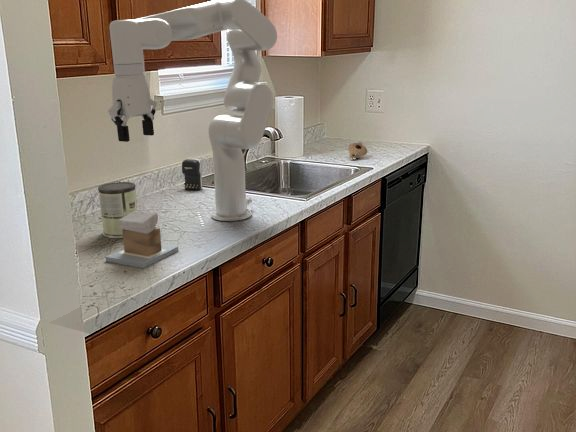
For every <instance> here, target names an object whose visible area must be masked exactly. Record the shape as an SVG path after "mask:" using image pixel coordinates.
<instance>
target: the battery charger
mask: <svg viewBox="0 0 576 432" xmlns="http://www.w3.org/2000/svg"><path fill="white" fill-rule="evenodd" d="M202 169H203V167H202V162H201V161H200V159H196V158H186V159H184V160H182V163H181V172H182V173H181V174H183V175H184V189H185V190H187V189H194V190H193V191H199V189H200V190H203V183H202V182H203V176H202V175H203V173H202V171H203V170H202Z"/></svg>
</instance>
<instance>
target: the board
mask: <svg viewBox="0 0 576 432" xmlns="http://www.w3.org/2000/svg"><path fill="white" fill-rule="evenodd" d="M161 249H162V251H160V252H157V253H155V254H153V255H151V256H143V255H138V254H132V253H127V252H124V248H123V249H120V250H118V251H115V252H114V253H111V254H109V255H106V256H105V261H106V262H109V263H114V264H119V265H123V266H124V265H125V266H128V267H129V266H130V267H133V268H134V267H136V268H141V269H145V268H147V267H149V266H151V265H154V264H155V263H157V262H160V260H162V259H165V258H167V257H169V256H171V255H173V254H175V253H177V252H179V246H178V245H171V244H164V243H161Z"/></svg>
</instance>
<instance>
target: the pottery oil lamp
mask: <svg viewBox="0 0 576 432" xmlns="http://www.w3.org/2000/svg"><path fill="white" fill-rule="evenodd" d="M347 147H348V151H349V152H348V153H349V159H350V158H352V159H353V158H358V159H360V158H361V157H364V156H366V155H367V154H368V149H367V147H366V146H365V145H364V144H363V143H362V142H360V141H359V142H353V143H351V144H349V145H348V146H347Z"/></svg>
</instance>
